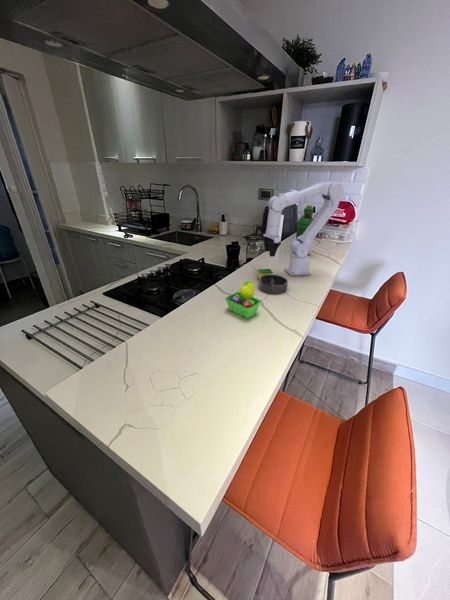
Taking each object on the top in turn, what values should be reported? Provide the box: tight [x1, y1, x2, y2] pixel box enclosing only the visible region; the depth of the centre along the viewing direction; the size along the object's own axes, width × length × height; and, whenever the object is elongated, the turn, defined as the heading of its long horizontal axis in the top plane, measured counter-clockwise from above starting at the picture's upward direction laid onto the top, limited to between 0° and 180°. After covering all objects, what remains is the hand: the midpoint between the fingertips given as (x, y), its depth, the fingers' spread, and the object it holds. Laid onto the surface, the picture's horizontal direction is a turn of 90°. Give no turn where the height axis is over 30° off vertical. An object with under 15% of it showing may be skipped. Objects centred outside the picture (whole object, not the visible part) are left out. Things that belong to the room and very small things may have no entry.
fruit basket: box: [225, 280, 262, 319], centre depth 93 cm, size 11×9×11 cm
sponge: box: [257, 268, 273, 280], centre depth 121 cm, size 4×6×4 cm
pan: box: [258, 274, 289, 295], centre depth 113 cm, size 12×12×4 cm
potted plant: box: [295, 204, 314, 256], centre depth 149 cm, size 11×11×28 cm
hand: (269, 253), depth 123 cm, fingers open, 7 cm apart
